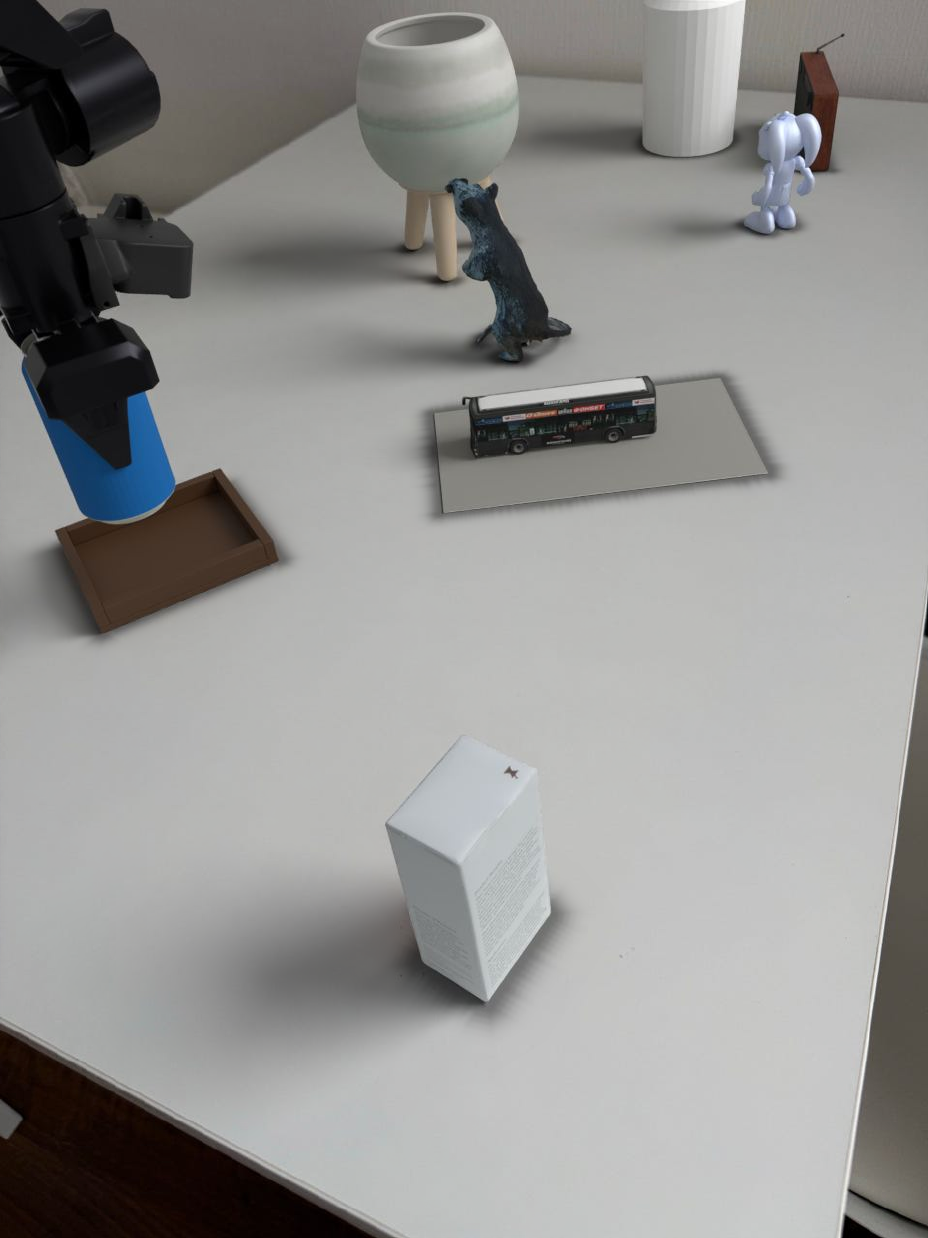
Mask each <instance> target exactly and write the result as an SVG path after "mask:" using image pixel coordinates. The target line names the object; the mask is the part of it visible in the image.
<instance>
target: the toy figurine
mask: <svg viewBox="0 0 928 1238" xmlns="http://www.w3.org/2000/svg"><path fill="white" fill-rule="evenodd" d="M793 114H794V113H791V112H789V111H788V110H785V111H782V112H779V113H775V114H774V115H771V116H770V117H769V119H768V120H767V121H766V122H765V123H763V125H762V126H761V128H760V129H759V130H758V134H757V135H758V146H757V154H758V156H759V157H760V158H761V159H763V160H766V161H769V162H767V163H766V164H764V166H763V171H762V172H763V175H764V185H763V186H762V187H761V188H760V189H759V190H758V191H754V192H753V193H752V194H751V204H752V205H753V206H756V207H760V210H759V211H752V212H750V213H748V214H747V215H746V217H745V218H744V221H743V225H744V227H746V228H749V229H750V230H752V231H755V232H756V233H759V234H763V235H770V234H772V233H773V232H774V231H775V228H776V226H775V225H776V224H777V226H778V227H779V228H782V229H793V228H794V227H795V226H796V224H797V220H796V219H797V218H796V214H795V211H794V209H793V207H792V206H791V205H790V201H791V193H792V186H793V176H794V173H795V171H799V172H800V173H801V175H803V177H804V178H803V180H802V181H801V183H800V184H799V185H798V187H796V193H797V195H798V196H800V197H803V196H806V195H809V194H810V193H811V192H812V191H813V190H814V188H815V184H816V180H815V176H814V174H813V172H812V171H811V170H810V169H809V168H808V167H809V166H810V165H811V164H812V163H813V162H814V160H815V158H816V156H817V154H818V151H819V148H820V143H821V130H820V126H819V124H818V121H817V120H816V118H815V117H814V116H813V115H811V114H801V115H799V116H797V117H796V116H795V115H793ZM803 146H804V150H805V161H804V159H803V158H802V157H801V155H798V154H800V151H801V149H802V148H803Z"/></svg>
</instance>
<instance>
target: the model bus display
mask: <svg viewBox="0 0 928 1238" xmlns="http://www.w3.org/2000/svg"><path fill="white" fill-rule="evenodd" d="M467 400H469V402H468V408H466V409H465V408H464V409H459V410H451V411H450V410H449V411H443V412H434V413H433V414H434V415H433V416H434V426H435V438H436V448H437V459H438V469H439V470H438V471H439V481H440V490H441V501H442V512H443V514H447V513H455V512H462V511H471V510H479V509H488V508H495V507H504V506H512V505H513V506H514V505H521V504H528V503H538V502H545V501H552V500H553V501H554V500H563V499H570V498H577V497H578V498H579V497H584V496H585V497H586V496H592V495H600V494H601V495H603V494H611V493H619V492H625V491H626V492H627V491H635V490H643V489H650V488H651V489H652V488H659V487H666V486H667V487H668V486H675V485H683V484H691V483H699V482H709V481H715V480H723V479H725V480H726V479H732V478H733V479H734V478H740V477H741V478H742V477H748V476H757V475H764V474H768V473H769V471H768V470H767V467H766V466H765V464H764V462H763V460H762V458H761V456H760V454H759V452H758V450H757V448H756V446H755V444H754V442H753V440H752V438H751V436H750V435H749V433H748V431H747V429H746V427H745V424H744V422H743V421H742V419H741V417H740V415H739V413H738V410H737V408H736V406H735V404H734V403H733V401H732V399H731V397H730V395H729V392H728V391H727V388H726V386H725V385H724V383H723V381H722V379H721V377H716V378H709V379H708V378H707V379H700V380H693V381H684V382H675V383H669V384H668V383H666V384H659V385H655V384H654V382H653V381H652V379H651V378H650V376H649V375H640V376H638V375H637V376H628V377H620V378H612V379H604V380H596V381H588V382H580V383H571V384H563V385H557V386H556V385H555V386H547V387H540V388H533V389H524V390H517V391H509V392H501V393H493V394H486V395H479V396H463V397H462V398H461V405H462V406H466V401H467Z"/></svg>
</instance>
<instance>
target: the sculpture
mask: <svg viewBox="0 0 928 1238" xmlns="http://www.w3.org/2000/svg"><path fill="white" fill-rule="evenodd" d="M491 183H492V184H491V185H490V186H489V187H487V188H485V190H484V189H483V188H482V187H481V186H480V185H479V184H477V183H476V184H472V185H468V180H467V179H466V178H460V179H457V178H455V179H452V180H450V181H449V182H448V185H446V186H445V190H446V191H447V193H452V194H453V199H454V206H455V213H456V217H457V218H458V219H459V220H460V221H461V222H462V223H463V224H464V225H465V226H466V228H467V230H468V231H469V234H470V238H471V246H472V248H471V251H470V253H469V255H468V258H467V259H465V261H464V263H462V264H461V270H462V272H463V274H465V276H466V277H467V278H469V279H472V280H474V281H478V282H486V281H487V282H488V283H489V286H490V288H491V291H492V293H493V296H494V299H495V300H494V301H495V307H496V311H495V315H494V318H493V322H492V323H491V324H489V325H488V326H487V327H486V328H485V329H484V331H483V332H482V333H481V335H479V338H478V339H477V344H479V345H480V344H481V342H483V340H484V339H485V338H486V337H487V336H489V334H490V333H491V332H492V335H493V336H494V339H495V341H496V343H498V344H499V345H500V346H501V347H502V348H503V350H505V351H504V352H500V354H499V355H498V356H497V357H498V358H500V359H501V360H504V361H510V362H522V361H524V357H525V356H524V350H523V347H522V343H524V344H527V345H528V346H530V344H532V342H533V341H538V342H539V343H541V344H542V343H543V342H544V341H546V340H549V339H555V338H556V339H557V338H565V337H570V336H571V334H572V330H573V328H572V327H571V325H569V324H568V323H566V322H564V321H562V320H559V319H557V318H555V317H553V316H552V317H550V316H549V312H550V311H549V307H548V304H547V303H546V300H545V297H544V296H543V294H542V293H541V291H540V290H539V288H538V286H537V283H536V282H535V280H534V278H533V276H532V273H531V271H530V269H529V266H528V264H527V260H526V258H525V256H524V253H523V250H522V249H521V247H520V246H519V244H518V243H517V240H516V239H515V238H514V236H513V235H512V233H511V232H510V231H509V229H508V227H507V226H506V224H505V225H504V223H505V222H504V223H503V221H502V219H501V217H500V214H499V211H498V208H497V205H496V203H495V199H497V197H498V194H499V186H498V184H497V183H496V182H491ZM551 327H555V328H557V329H553V328H551Z"/></svg>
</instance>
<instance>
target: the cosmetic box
mask: <svg viewBox="0 0 928 1238" xmlns="http://www.w3.org/2000/svg"><path fill="white" fill-rule="evenodd" d="M542 815H543V813H542V801H541V790H540V781H539V771H538V769H537V768H536V767H534V766H532V765H530V764H527V763H525V762H523V761H521V760H518V759H516V758H514V757H512V756H510V755H508V754H506V753H504V752H502V751H499V750H498V749H496V748H493V747H490V746H489V745H487V744H485V743H483V742H481V741H479V740H476V739H474V738H472V737H470V736H468V735H466V734H462V735H460V736H459V738H458V739H457V740H456V741H455V742H454V744H453V745H451V746H450V748H449V749H448V750H447V751H446V752H445V754H444V755H442V757H441V758H440V759H439V760H438V762H437V763H436V764H435V765H434V766H433V767H432V769H431V770H430V771H429V772H428V773H427V775H426V776H425V777H424V778H423V779H422V780H421V782H420V783H419V784H418V786H416V787H415V789H414V790H413V791H412V792H411V793H410V795H409V796H407V798H406V799H405V800H404V801H403V803H402V804H401V805H400V806H399V807H398V808H397V809H396V810H395V812H394V813H393V814H392V815H391V816H390V817H389V818H388V819H387V820H386V821H385V824H384V825H385V829H386V832H387V836H388V837H387V838H388V841H389V844H390V847H391V848H390V849H391V851H392V855H393V858H394V862H395V866H396V869H397V874H398V876H399V880H400V885H401V888H402V892H403V896H404V899H405V903H406V906H407V911H408V914H409V919H410V921H411V925H412V928H413V932H414V937H415V940H416V944H417V948H418V951H419V955H420V959H421V961H422V962H423V964H424V965H426V966H427V967H429V968H431V969H432V970H434V971H436V972H437V973H439V974H441V975H442V976H444V977H445V978H446V979H448V980H451V982H454V983H455V984H457V985H458V986H460V987H461V988H463V989H464V990H466V992H469V993H470V994H471V995H474V996H475V997H476V998H478V999H480V1000H481V1001H483V1002H485V1003H488V1002H489V1001H490V999H491V998H492V997H493V995H494V994H495V992H496V991H497V989H498V988H499V986H500V985H501V984H502V983H503V981H504V980H505V979H506V977H507V975H508V974H509V973H510V971H511V970H512V969H513V967H514V966H515V965H516V963H517V961H518V960H519V958H520V957H521V956H522V954H523V953H524V952H525V950H526V949H527V947H528V946H529V944H530V943H531V942H532V941H533V939H534V937H535V936H536V935H537V933H538V932H539V930H540V929H541V928H542V926H543V925H544V924H545V922H546V921H547V919H548V918H549V917H550V916H551V913H552V908H551V897H550V896H551V895H550V887H549V886H550V885H549V876H548V875H549V874H548V865H547V857H546V856H547V854H546V846H545V834H544V824H543V816H542Z"/></svg>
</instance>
